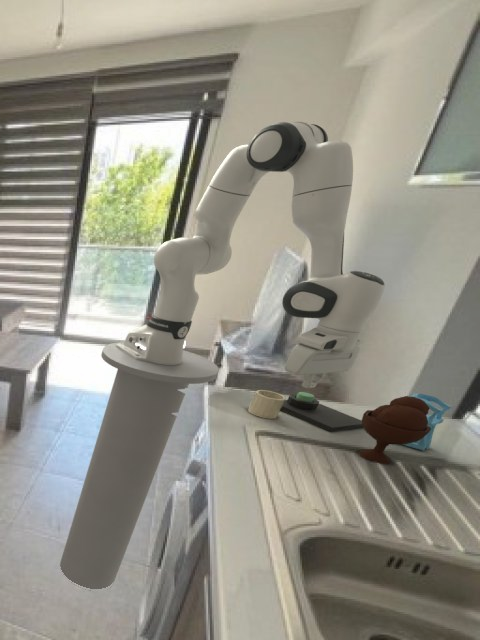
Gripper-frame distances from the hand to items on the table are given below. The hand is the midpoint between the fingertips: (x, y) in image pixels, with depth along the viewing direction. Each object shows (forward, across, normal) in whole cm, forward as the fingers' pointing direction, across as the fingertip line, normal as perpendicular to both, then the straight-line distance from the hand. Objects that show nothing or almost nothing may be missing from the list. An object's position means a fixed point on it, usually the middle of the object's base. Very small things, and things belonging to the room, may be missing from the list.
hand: (307, 387), depth 131 cm
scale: (+6, 0, +5) cm, 8 cm away
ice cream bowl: (+6, +10, +25) cm, 28 cm away
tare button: (+4, 0, +1) cm, 4 cm away
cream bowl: (+6, +14, +1) cm, 16 cm away
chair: (+6, -7, +21) cm, 23 cm away
